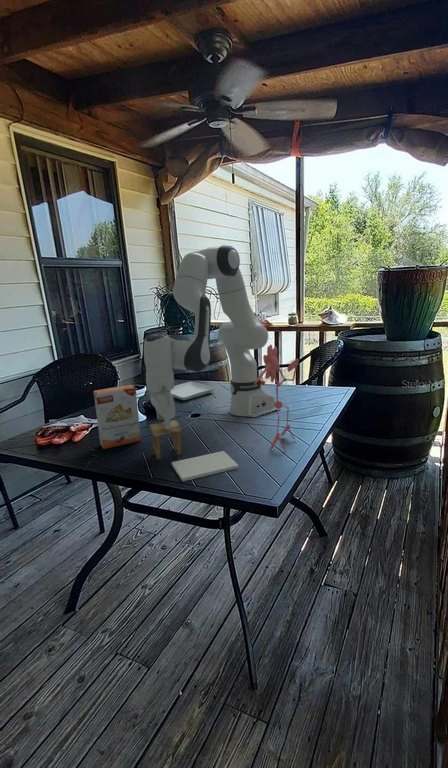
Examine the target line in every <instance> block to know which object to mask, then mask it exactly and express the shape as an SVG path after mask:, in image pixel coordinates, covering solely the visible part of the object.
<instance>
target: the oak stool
mask: <svg viewBox="0 0 448 768" xmlns="http://www.w3.org/2000/svg"><path fill="white" fill-rule="evenodd" d="M149 429H150V432H151V440H152V448H153V449H152V450H153V455H156V456H155V457H156V460H162V457H161V447H160V446H161V445H160V436H164V435H168V434H172V440H173V450H174V451H176V452H177V455H178V456H180V455H183V452H182V442H181V441H182V440H181V432H182V428H181V424H180V423H179V422H178V421H177V420H176V419H174V420H171V422H170V429H165V427H164V421H163V422H158V423H152V424H149Z"/></svg>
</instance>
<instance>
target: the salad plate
mask: <svg viewBox="0 0 448 768" xmlns="http://www.w3.org/2000/svg"><path fill="white" fill-rule="evenodd" d="M215 389H216V387H215V386H211V385H206V384H202V383H199V382H195V381H188V382H183V383H181V384H176V385H174V389H172V390H171V394H172V395H173V399H178V400H180V401H181V400H182V401H189V400H192V399H195V398H199V397H201V396H204V395H207V394H210V393H212V392H213V391H215Z"/></svg>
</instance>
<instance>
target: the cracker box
mask: <svg viewBox="0 0 448 768" xmlns="http://www.w3.org/2000/svg"><path fill="white" fill-rule="evenodd" d="M93 398H94V406H95V412H96V420H97V421H96V422H97V428H98V429H97V430H98V437H99V442H100V443H99V444H100V446H101V447H102V449H103V450H107V449H110V448H115V447H120V446H124V445H129V444H133V443H139V442H141V430H140V421H139V420H140V419H139V418H140V417H139V408H138V400H137V388H136V387H135V386H133V385H132V384H127V385H121V386H115V387H108V388H102V389H97V390H93Z"/></svg>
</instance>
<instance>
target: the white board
mask: <svg viewBox="0 0 448 768" xmlns="http://www.w3.org/2000/svg"><path fill="white" fill-rule="evenodd" d="M171 466H172V468H173V469H174V471H175V472H176V474H177V475H178V477H179V479H180V480H181V481H182V482H186V481H187V482H188V481H190V480H191V481H192V480H194V479H198V478H203V477H207V476H211V475H215V474H219V473H225V472H228V471H232V470H236V469H239V464H238V463H237V462H236V461H235V460H233V458H232V457H231V456H230V455H229V454H227V453H226V451H225V450H222V451H221V450H220V451H216V452H213V453H208V454H203V455H199V456H198V455H197V456H195V457H190V458H185V459H181V460H175V461H172V462H171Z"/></svg>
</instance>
